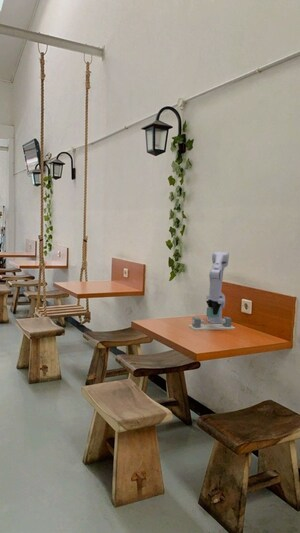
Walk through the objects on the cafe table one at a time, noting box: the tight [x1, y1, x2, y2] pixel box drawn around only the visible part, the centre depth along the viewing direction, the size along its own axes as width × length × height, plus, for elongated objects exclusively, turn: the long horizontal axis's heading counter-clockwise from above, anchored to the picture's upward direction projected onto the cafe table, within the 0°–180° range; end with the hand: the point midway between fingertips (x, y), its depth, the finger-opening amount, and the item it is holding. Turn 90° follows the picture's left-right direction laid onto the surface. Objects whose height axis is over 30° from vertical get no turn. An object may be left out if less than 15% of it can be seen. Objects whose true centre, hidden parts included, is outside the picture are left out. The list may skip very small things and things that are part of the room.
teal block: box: [206, 306, 220, 318], centre depth 238 cm, size 6×4×5 cm, turn 111°
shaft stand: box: [188, 316, 236, 331], centre depth 240 cm, size 9×25×6 cm, turn 104°
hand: (213, 313), depth 238 cm, fingers closed on teal block, 4 cm apart
